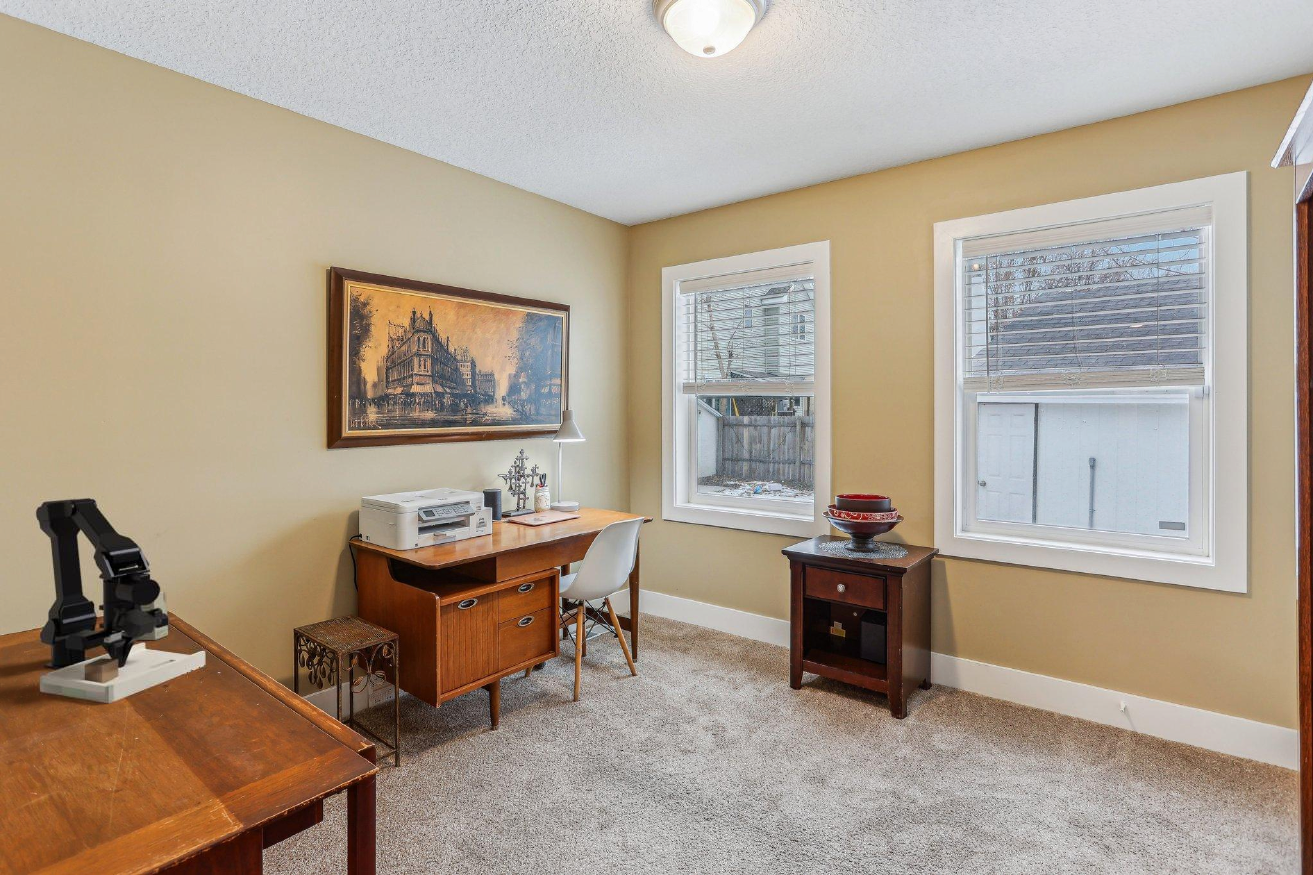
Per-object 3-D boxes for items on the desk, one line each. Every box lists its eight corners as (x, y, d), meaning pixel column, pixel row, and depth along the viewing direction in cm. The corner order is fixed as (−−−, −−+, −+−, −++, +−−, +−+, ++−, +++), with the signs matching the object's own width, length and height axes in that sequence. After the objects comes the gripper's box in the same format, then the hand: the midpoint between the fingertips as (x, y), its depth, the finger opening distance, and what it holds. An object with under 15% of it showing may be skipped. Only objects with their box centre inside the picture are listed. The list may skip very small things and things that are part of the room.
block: (84, 683, 144) (84, 665, 144) (101, 675, 148) (100, 658, 148) (102, 683, 144) (102, 665, 144) (118, 676, 148) (118, 658, 148)
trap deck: (40, 691, 144) (39, 675, 144) (142, 656, 165) (142, 642, 165) (108, 703, 139) (108, 686, 139) (205, 665, 160) (205, 651, 160)
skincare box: (168, 635, 181) (168, 591, 180) (155, 640, 176) (154, 595, 176) (147, 634, 181) (146, 590, 181) (133, 639, 177) (132, 594, 177)
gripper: (101, 614, 139) (102, 687, 139) (186, 592, 157) (186, 657, 157) (63, 609, 142) (64, 681, 142) (150, 587, 160) (151, 651, 160)
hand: (120, 667), depth 151 cm, fingers closed
